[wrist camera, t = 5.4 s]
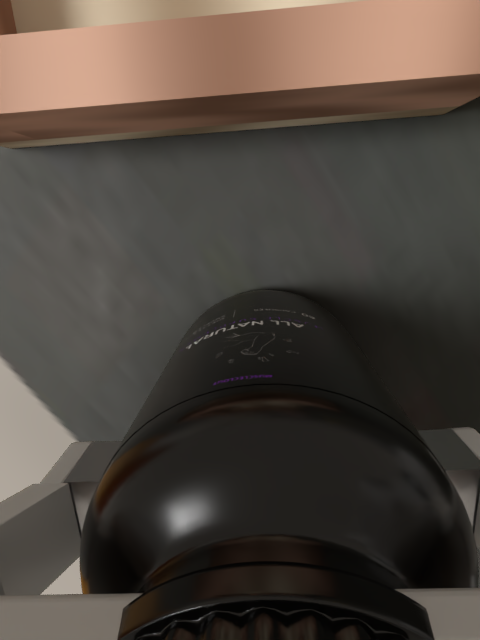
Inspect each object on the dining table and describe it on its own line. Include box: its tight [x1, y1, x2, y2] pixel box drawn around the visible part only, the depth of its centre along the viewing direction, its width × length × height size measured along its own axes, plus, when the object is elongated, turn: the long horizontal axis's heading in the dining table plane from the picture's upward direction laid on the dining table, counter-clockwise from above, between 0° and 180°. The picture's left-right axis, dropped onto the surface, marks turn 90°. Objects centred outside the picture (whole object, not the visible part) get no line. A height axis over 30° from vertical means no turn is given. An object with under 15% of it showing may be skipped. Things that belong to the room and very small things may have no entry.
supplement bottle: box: [80, 290, 479, 640], centre depth 9 cm, size 7×7×12 cm
